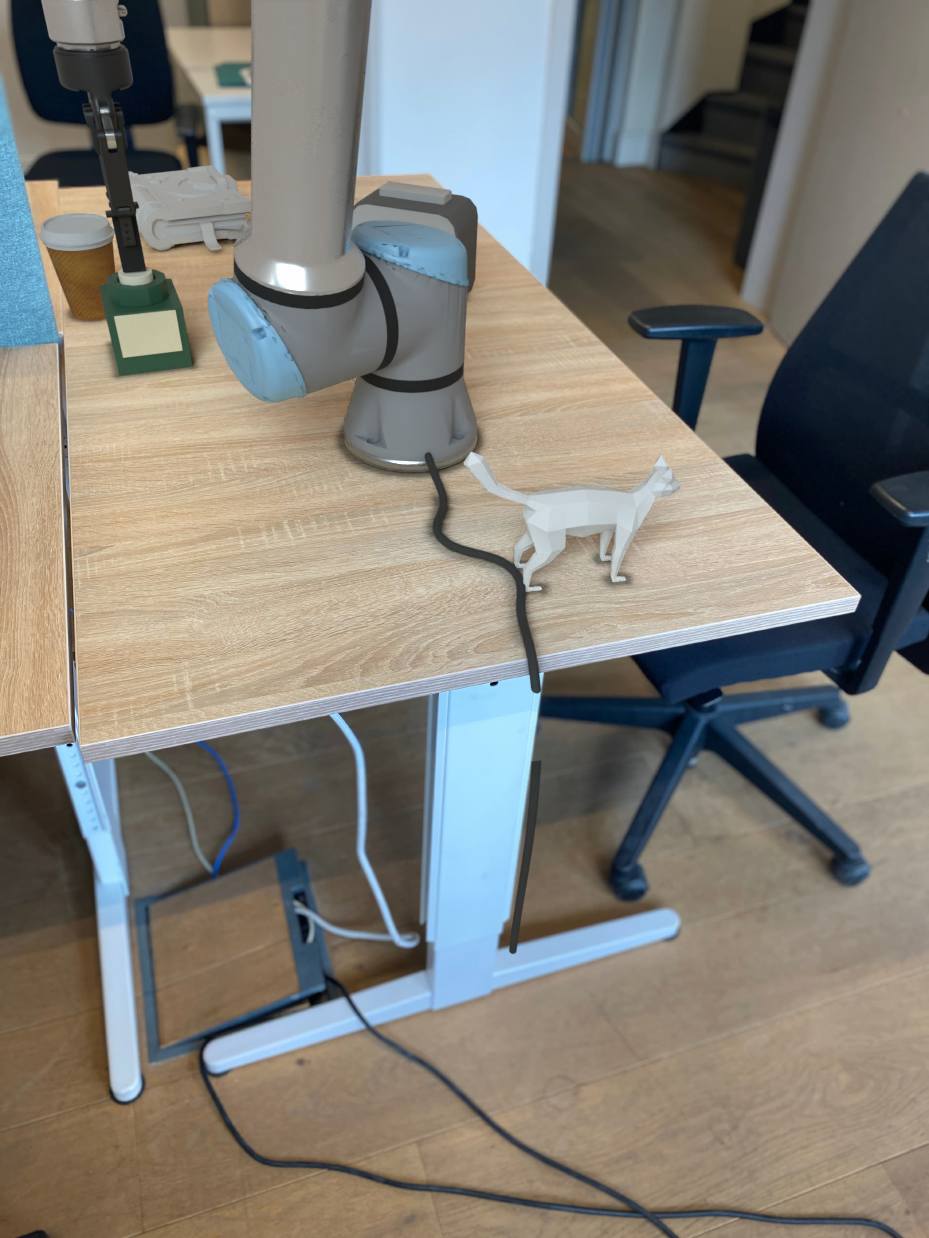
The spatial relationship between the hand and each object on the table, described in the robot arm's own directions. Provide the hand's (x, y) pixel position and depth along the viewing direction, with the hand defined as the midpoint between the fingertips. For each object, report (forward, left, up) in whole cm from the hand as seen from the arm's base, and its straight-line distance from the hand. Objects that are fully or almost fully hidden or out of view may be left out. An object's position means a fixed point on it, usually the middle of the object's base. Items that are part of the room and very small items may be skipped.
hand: (134, 269), depth 110 cm
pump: (0, 0, -3) cm, 3 cm away
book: (+50, -2, -11) cm, 51 cm away
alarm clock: (+17, -37, -11) cm, 42 cm away
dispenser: (0, 0, -11) cm, 11 cm away
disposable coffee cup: (+15, +9, -11) cm, 21 cm away
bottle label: (-5, -1, -9) cm, 10 cm away
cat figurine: (-52, -42, -11) cm, 68 cm away
